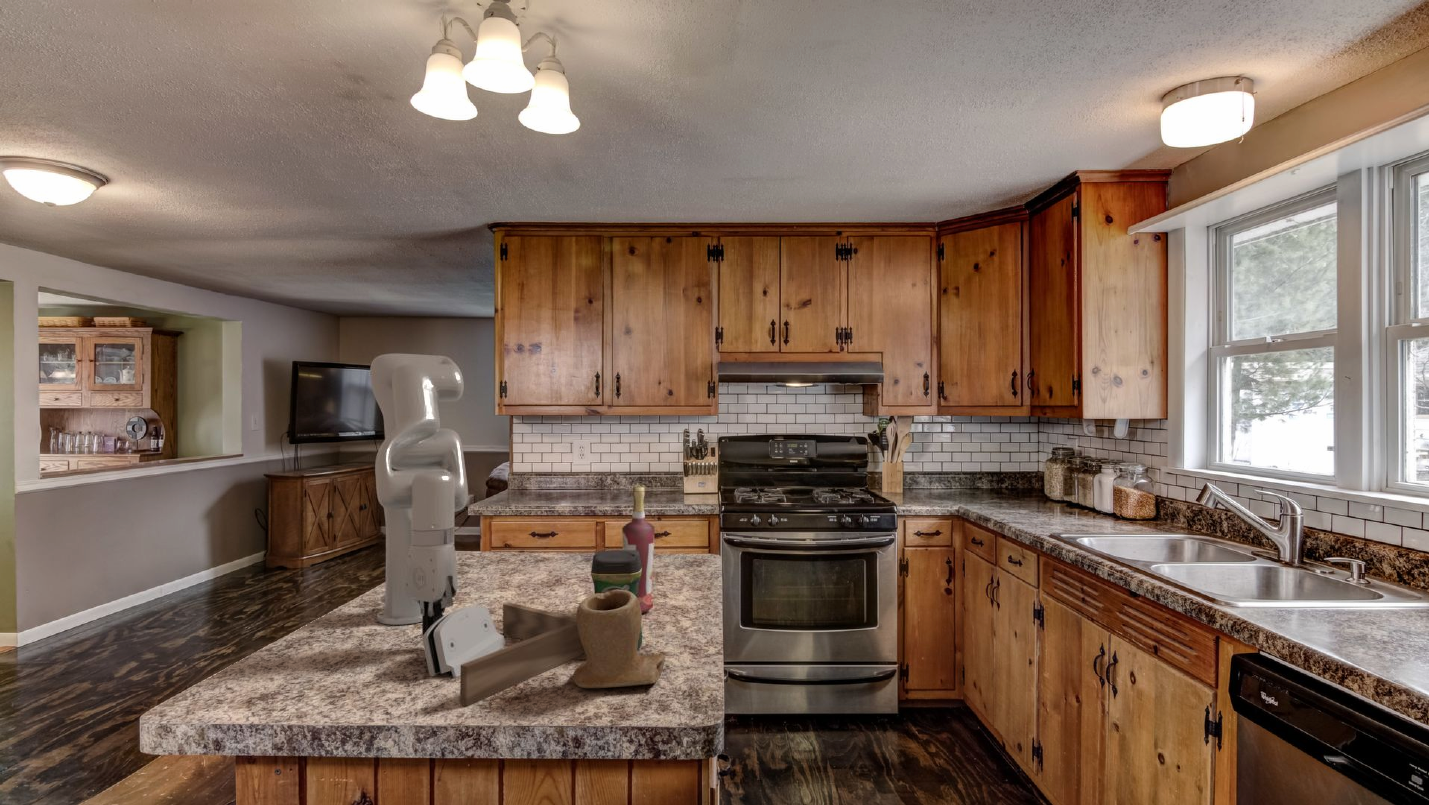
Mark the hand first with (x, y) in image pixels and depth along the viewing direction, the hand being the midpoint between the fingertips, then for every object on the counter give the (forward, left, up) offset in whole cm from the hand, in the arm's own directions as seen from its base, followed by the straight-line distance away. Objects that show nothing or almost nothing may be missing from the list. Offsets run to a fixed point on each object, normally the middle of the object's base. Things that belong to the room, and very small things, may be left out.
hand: (432, 635), depth 121 cm
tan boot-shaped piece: (+40, +7, -3) cm, 41 cm away
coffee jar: (+29, +19, -3) cm, 35 cm away
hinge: (+9, 0, -3) cm, 10 cm away
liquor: (+18, +39, -3) cm, 43 cm away
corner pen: (+15, +1, -3) cm, 16 cm away
